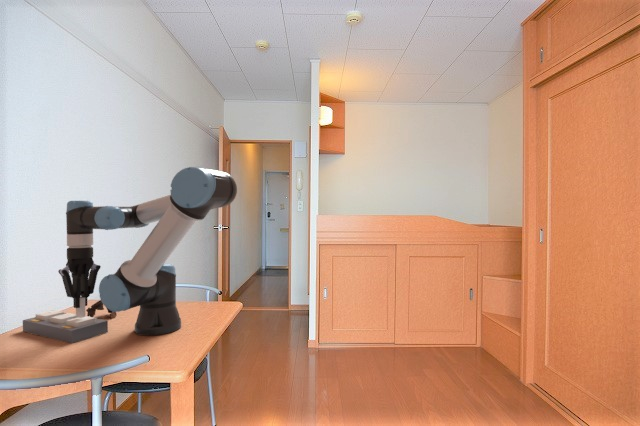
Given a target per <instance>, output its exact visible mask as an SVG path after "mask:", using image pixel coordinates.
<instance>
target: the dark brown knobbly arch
mask: <svg viewBox="0 0 640 426" xmlns="http://www.w3.org/2000/svg"><path fill="white" fill-rule="evenodd" d="M96 310H97V311H103V310H105V308H104V304H103V303H102V301H101V299H100V300H98V301H96V302H95V303H94V304H92V305H91V306H90V307H88V308H87V309H85V312H87V315H86V316H88V317H93V318H94V316H96V312H97V311H96ZM106 310H107V313H109V316H110V319H111V320H112V319H114V318H116V317H117V312H113V311H110V310H109V309H107V308H106Z"/></svg>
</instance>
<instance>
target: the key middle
mask: <svg viewBox="0 0 640 426" xmlns="http://www.w3.org/2000/svg"><path fill="white" fill-rule="evenodd" d="M65 313H66V314H62V315H58V316H54V317H50V318H51V322H53V323H57V324H63V323H66V320H70V319H74V318H78V317H76V313H70V312H65Z"/></svg>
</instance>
